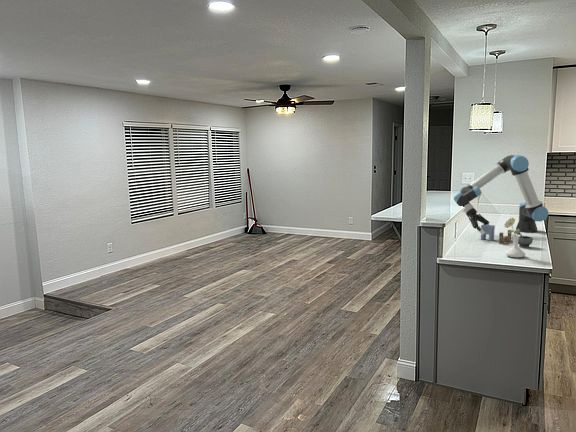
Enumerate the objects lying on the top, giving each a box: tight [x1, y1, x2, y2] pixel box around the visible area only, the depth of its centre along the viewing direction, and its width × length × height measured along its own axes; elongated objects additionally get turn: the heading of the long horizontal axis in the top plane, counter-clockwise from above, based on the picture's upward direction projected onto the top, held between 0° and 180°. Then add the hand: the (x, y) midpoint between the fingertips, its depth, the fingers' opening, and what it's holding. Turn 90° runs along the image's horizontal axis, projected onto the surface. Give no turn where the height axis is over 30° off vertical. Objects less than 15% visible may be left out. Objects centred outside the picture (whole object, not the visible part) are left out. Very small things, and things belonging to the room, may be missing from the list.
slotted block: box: [480, 223, 496, 242], centre depth 322 cm, size 4×8×11 cm, turn 39°
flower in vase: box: [503, 217, 526, 258], centre depth 272 cm, size 13×11×25 cm
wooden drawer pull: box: [498, 229, 513, 245], centre depth 312 cm, size 15×2×8 cm, turn 129°
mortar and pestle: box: [514, 229, 534, 249], centre depth 297 cm, size 11×9×12 cm
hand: (488, 232), depth 321 cm, fingers open, 13 cm apart
